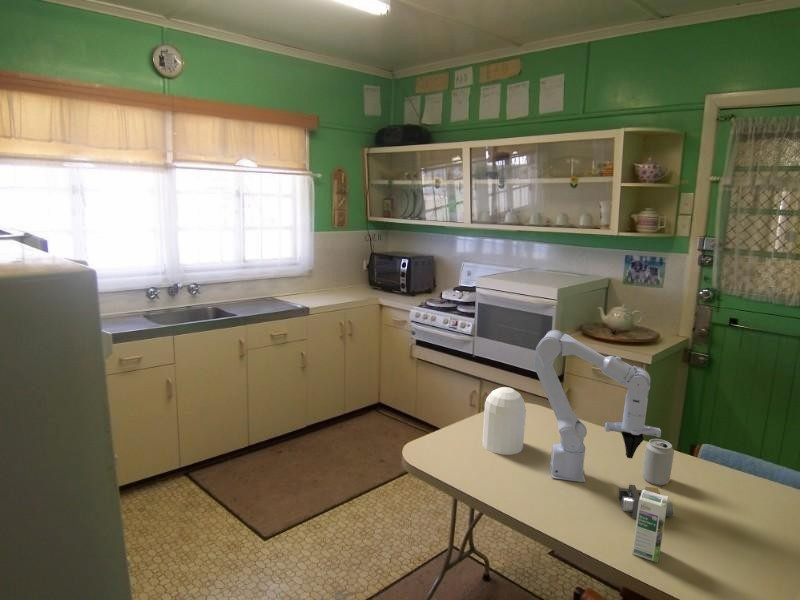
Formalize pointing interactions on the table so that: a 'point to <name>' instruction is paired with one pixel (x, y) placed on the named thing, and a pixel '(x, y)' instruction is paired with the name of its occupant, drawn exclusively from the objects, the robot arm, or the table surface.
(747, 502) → the table surface
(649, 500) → the syrup box
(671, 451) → the can
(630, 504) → the tube
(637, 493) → the collar bracket
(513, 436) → the container
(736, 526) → the table surface
